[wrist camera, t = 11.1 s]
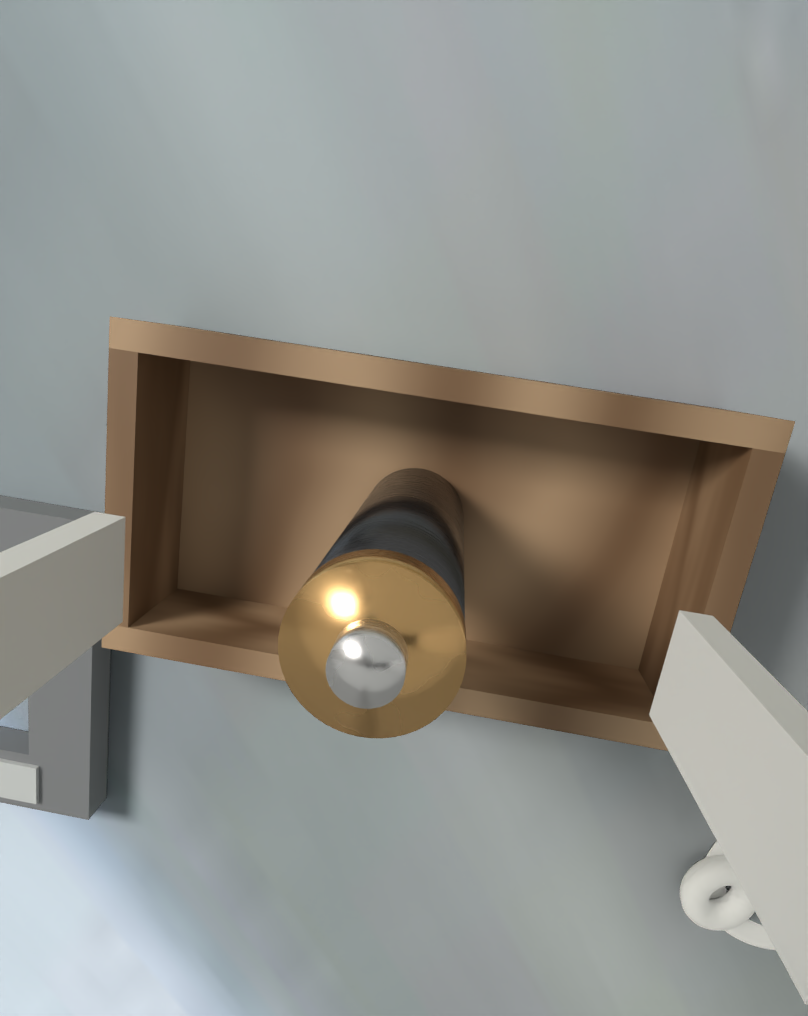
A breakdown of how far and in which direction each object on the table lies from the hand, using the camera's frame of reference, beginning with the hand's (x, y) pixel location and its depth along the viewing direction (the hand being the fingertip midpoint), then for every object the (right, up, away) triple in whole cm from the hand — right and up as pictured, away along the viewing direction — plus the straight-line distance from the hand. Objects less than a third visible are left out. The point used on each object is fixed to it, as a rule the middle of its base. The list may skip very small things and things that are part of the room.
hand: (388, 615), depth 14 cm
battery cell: (+1, +2, +10) cm, 11 cm away
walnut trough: (+1, +2, +11) cm, 12 cm away
